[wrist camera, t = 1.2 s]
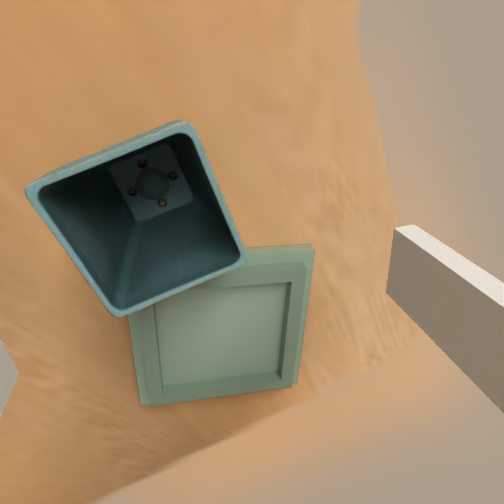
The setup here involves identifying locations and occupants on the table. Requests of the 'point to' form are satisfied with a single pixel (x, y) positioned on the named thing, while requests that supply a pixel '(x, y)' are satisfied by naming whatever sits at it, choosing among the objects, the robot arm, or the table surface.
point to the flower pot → (141, 218)
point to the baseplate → (226, 331)
